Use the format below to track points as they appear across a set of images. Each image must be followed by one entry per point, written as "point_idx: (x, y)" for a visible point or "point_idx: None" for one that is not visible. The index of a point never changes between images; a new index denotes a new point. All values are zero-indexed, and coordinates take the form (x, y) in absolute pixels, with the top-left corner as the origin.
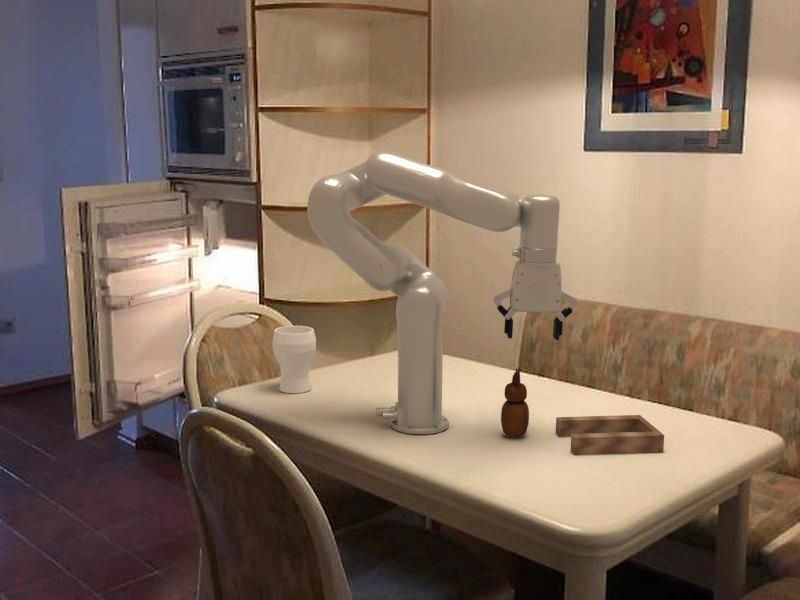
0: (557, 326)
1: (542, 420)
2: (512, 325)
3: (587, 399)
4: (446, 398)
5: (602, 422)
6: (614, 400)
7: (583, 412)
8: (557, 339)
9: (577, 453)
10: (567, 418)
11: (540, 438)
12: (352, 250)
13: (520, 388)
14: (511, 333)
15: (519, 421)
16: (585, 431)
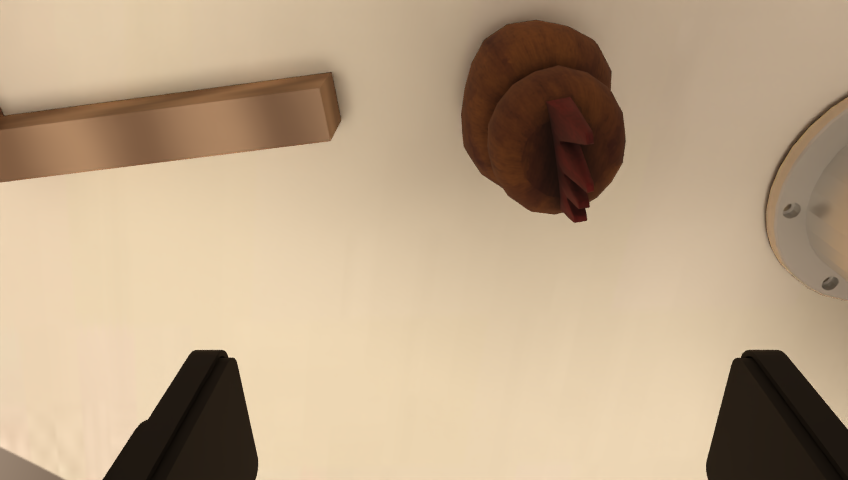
0: (149, 469)
1: (379, 269)
2: (831, 474)
3: None
4: (686, 471)
5: (122, 111)
6: None
7: None
8: (209, 352)
9: None
10: (279, 125)
11: (411, 49)
12: None
13: (544, 98)
14: (780, 384)
15: (523, 22)
16: (212, 92)
